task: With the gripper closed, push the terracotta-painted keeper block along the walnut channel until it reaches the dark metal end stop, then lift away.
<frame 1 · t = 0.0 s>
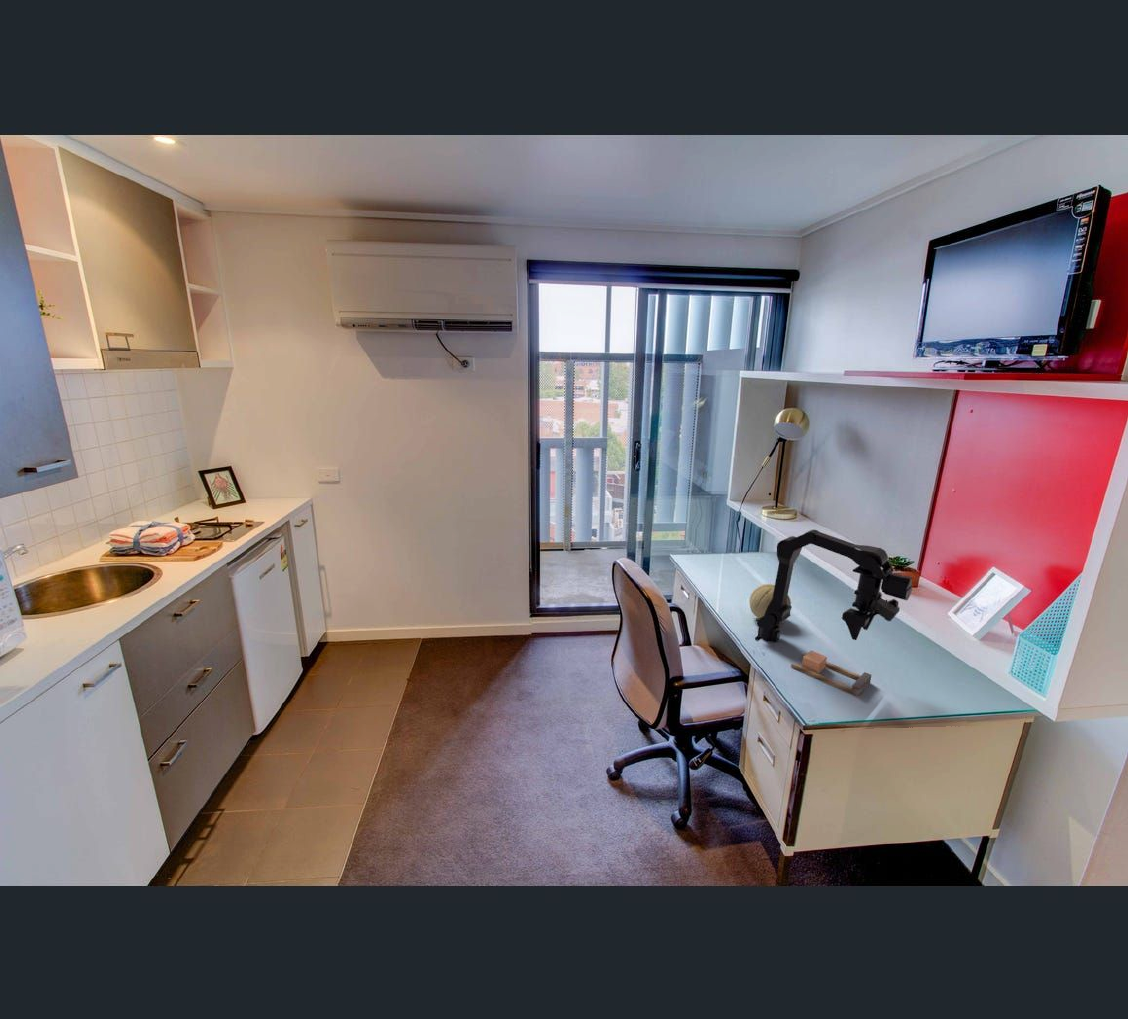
hand: (859, 634, 153), 15 cm above the table, fingers open, 9 cm apart
channel: (828, 677, 156), on the table
keeper: (814, 662, 159), point 3 cm above the table, slide at 0.0 cm
cantaloupe: (767, 620, 192), on the table
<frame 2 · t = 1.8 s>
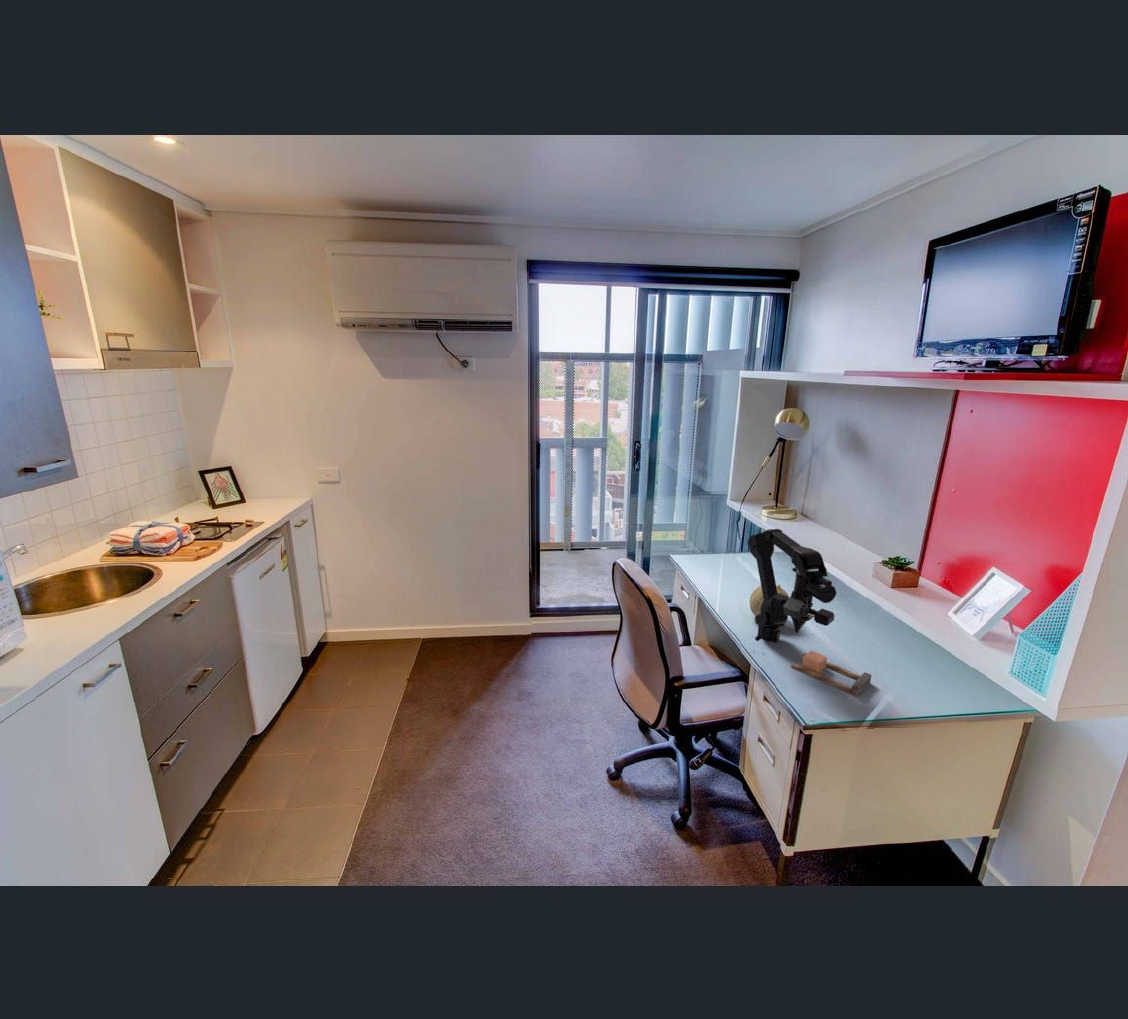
hand: (797, 632, 162), 11 cm above the table, fingers closed
nothing on the table moved.
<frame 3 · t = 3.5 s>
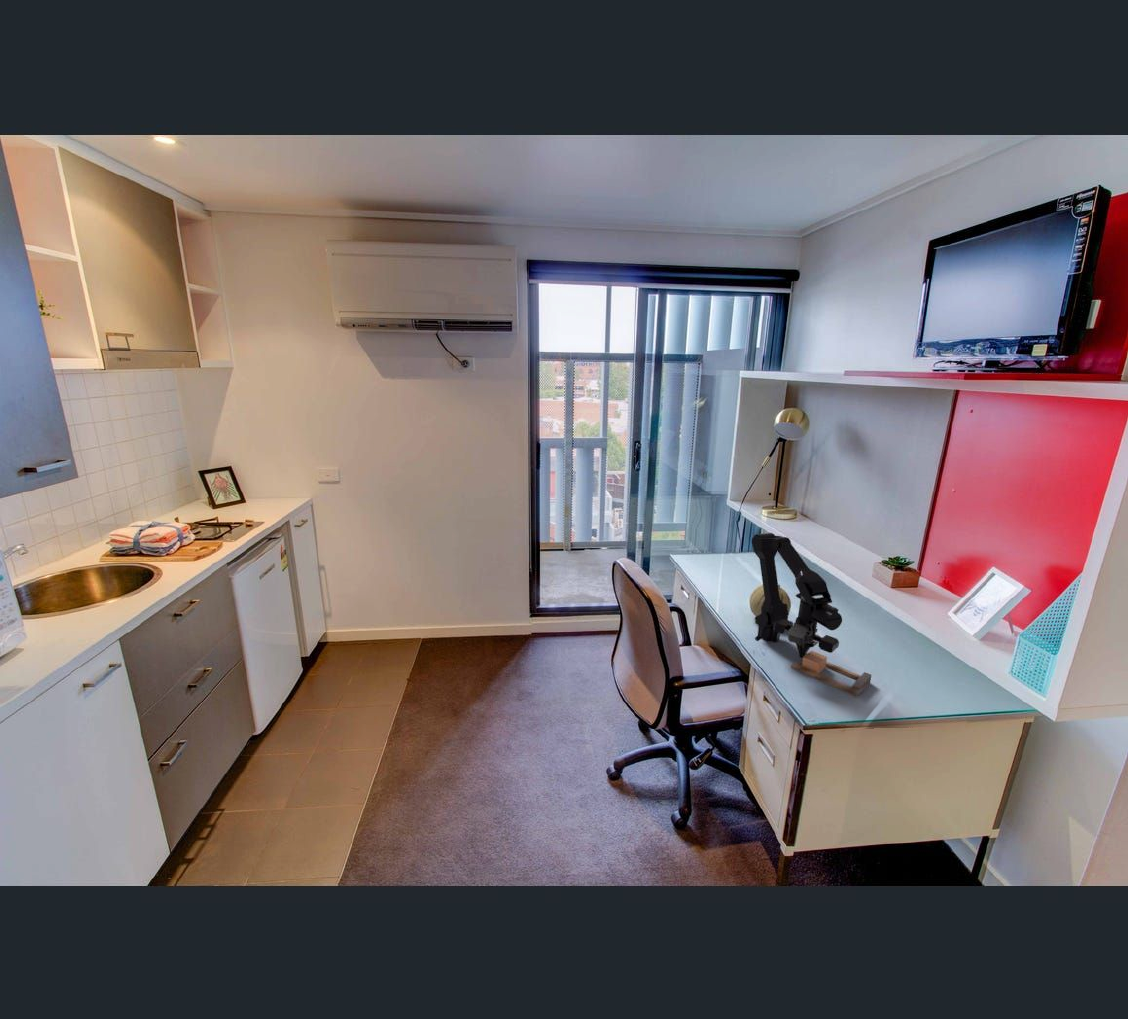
hand: (801, 657, 162), 3 cm above the table, fingers closed
keeper: (814, 662, 159), point 3 cm above the table, slide at 0.0 cm, touching gripper
everything else where it was.
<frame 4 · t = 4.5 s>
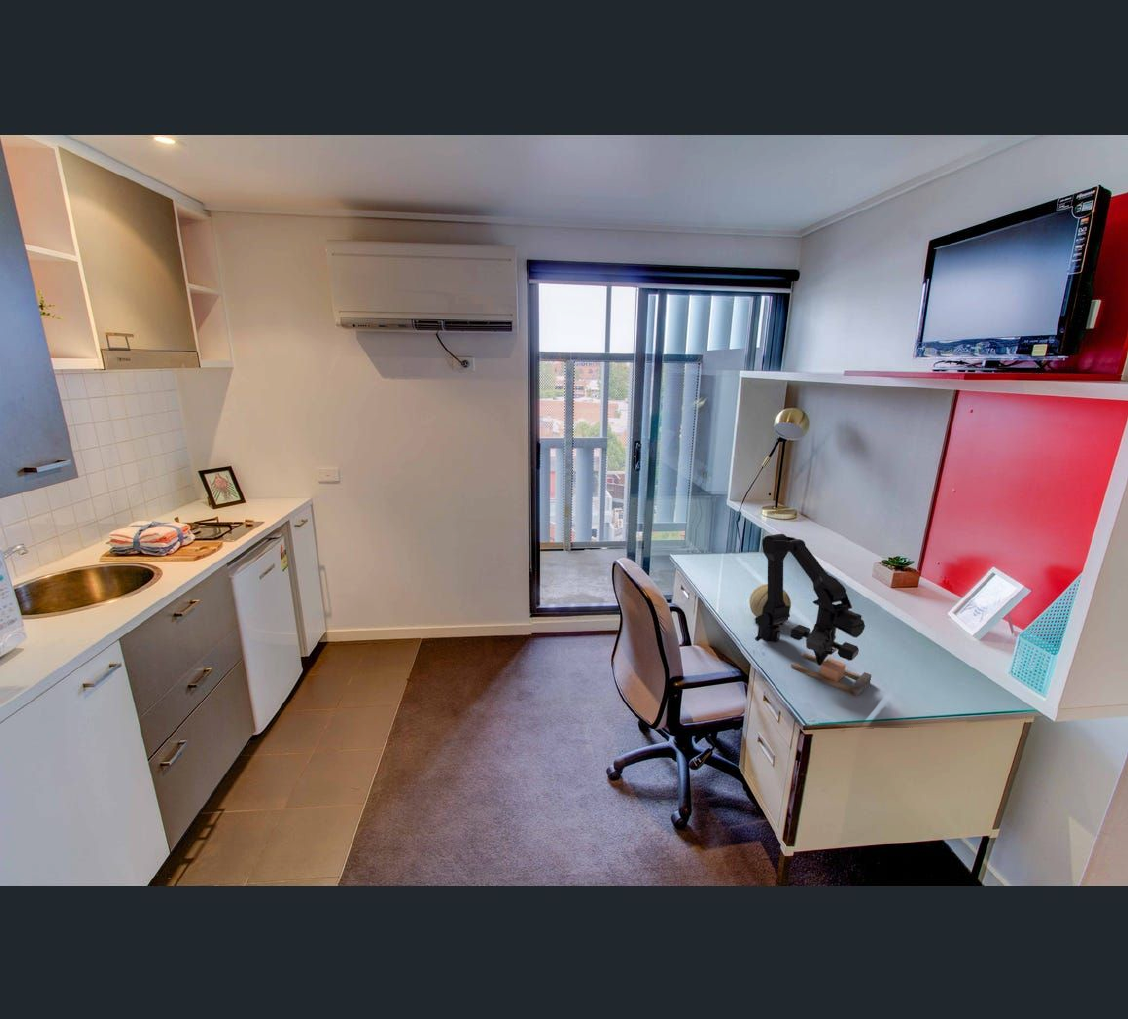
hand: (819, 665, 158), 3 cm above the table, fingers closed
keeper: (832, 670, 155), point 3 cm above the table, slide at 5.7 cm, touching gripper
everything else where it was.
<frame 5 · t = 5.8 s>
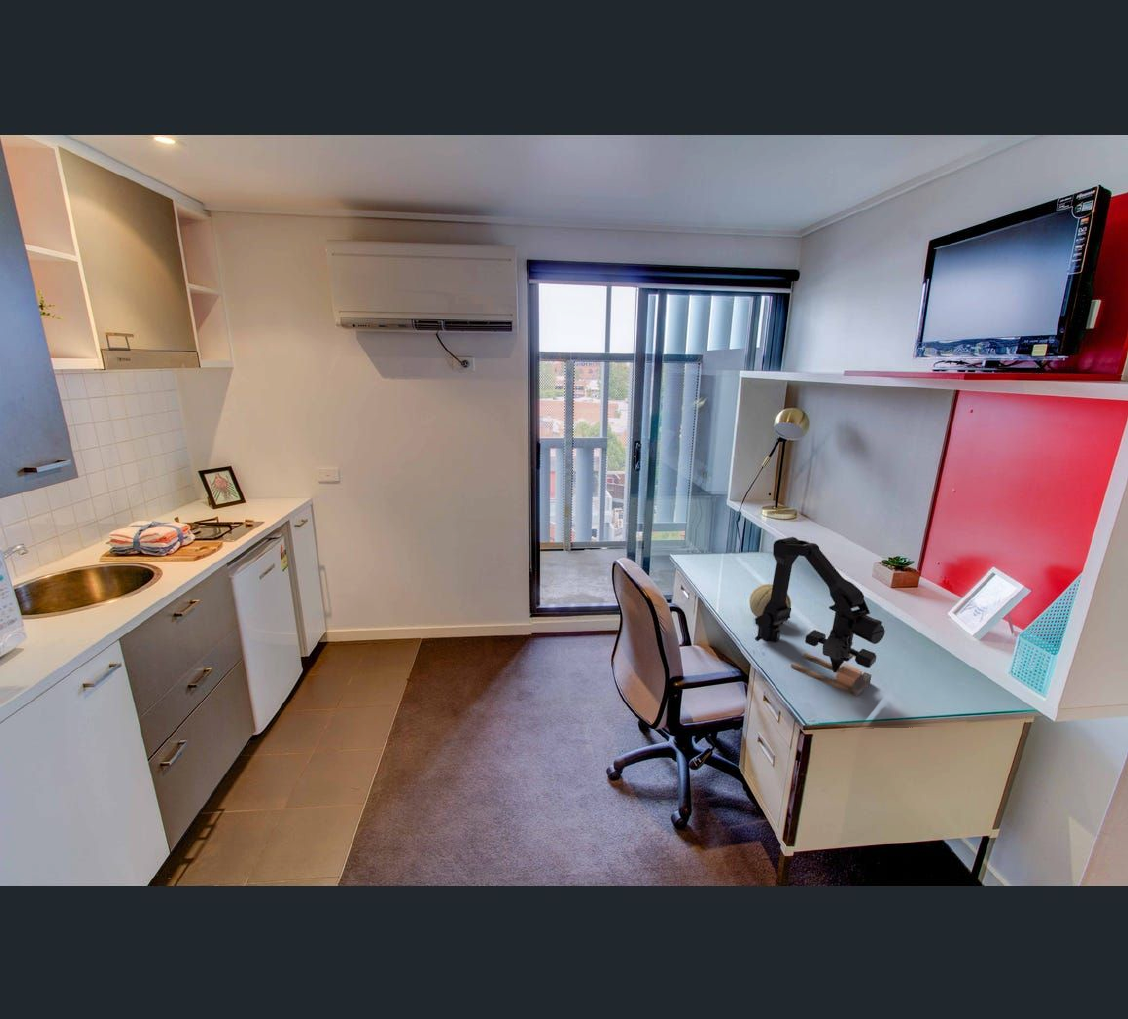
hand: (835, 671, 154), 3 cm above the table, fingers closed
keeper: (848, 676, 152), point 3 cm above the table, slide at 10.3 cm, touching gripper
everything else where it was.
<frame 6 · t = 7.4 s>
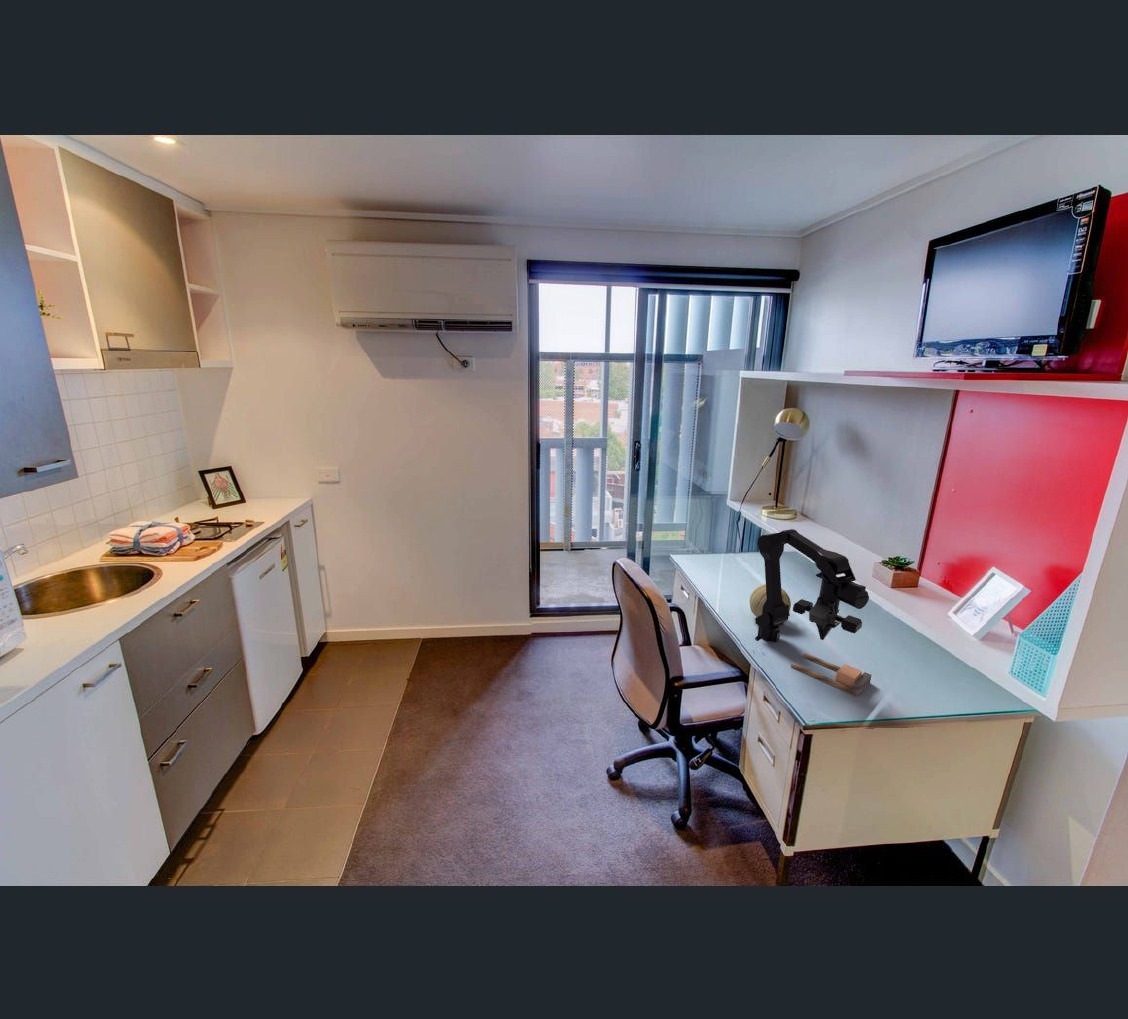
hand: (822, 639, 156), 12 cm above the table, fingers closed
keeper: (848, 676, 152), point 3 cm above the table, slide at 10.3 cm
everything else where it was.
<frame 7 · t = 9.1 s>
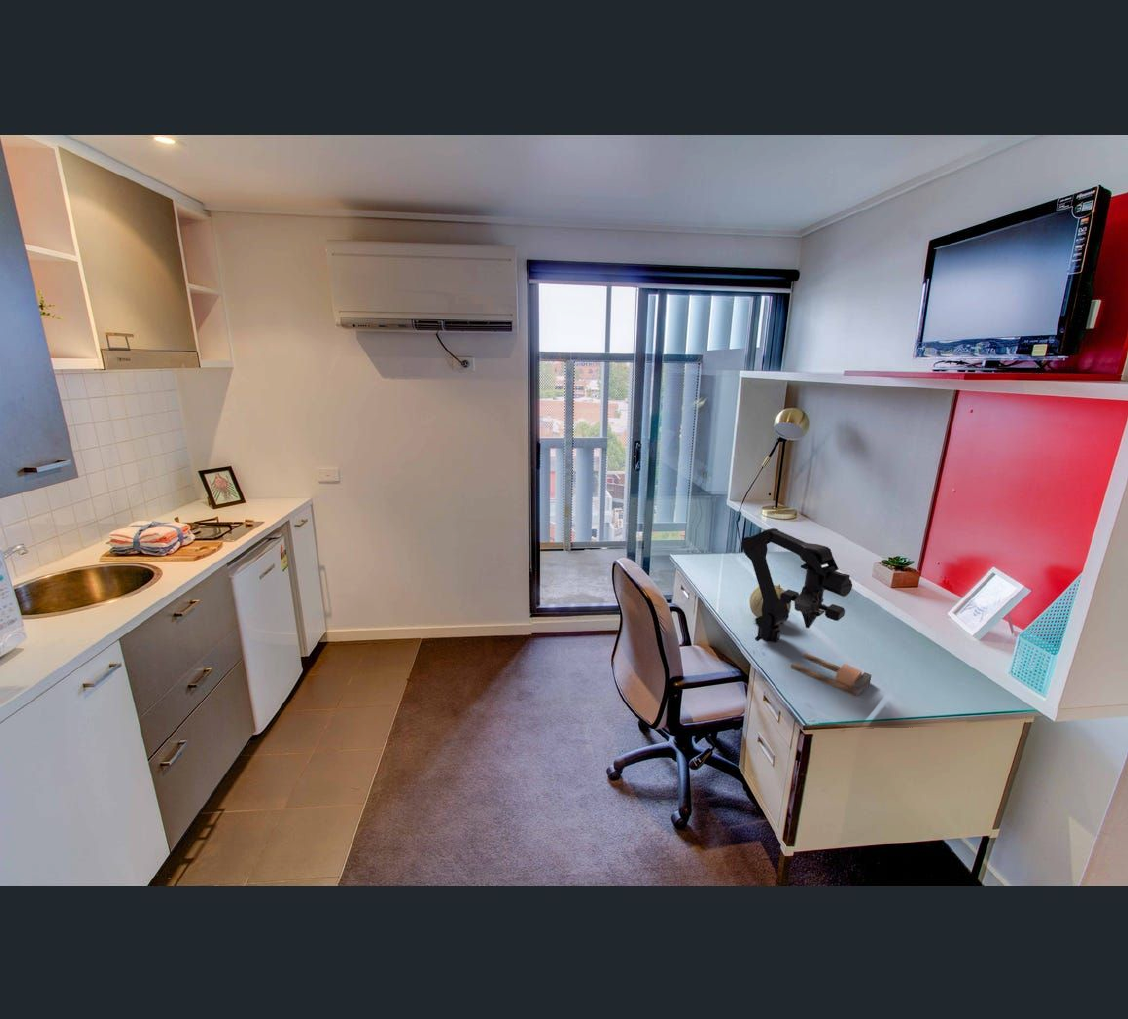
hand: (807, 627, 163), 12 cm above the table, fingers closed
nothing on the table moved.
at the end: keeper slide at 10.3 cm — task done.
